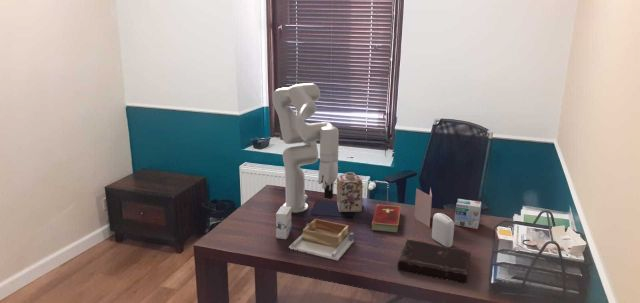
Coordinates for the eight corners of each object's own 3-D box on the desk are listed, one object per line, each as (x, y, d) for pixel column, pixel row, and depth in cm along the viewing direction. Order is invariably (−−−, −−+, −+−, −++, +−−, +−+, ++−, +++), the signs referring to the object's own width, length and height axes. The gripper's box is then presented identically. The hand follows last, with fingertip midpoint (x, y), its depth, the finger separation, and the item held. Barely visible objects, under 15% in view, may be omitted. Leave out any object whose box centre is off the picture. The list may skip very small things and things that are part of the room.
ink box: (281, 229, 203) (280, 205, 200) (292, 230, 202) (291, 206, 199) (275, 238, 195) (275, 213, 192) (287, 239, 194) (286, 214, 191)
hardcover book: (370, 230, 203) (371, 222, 202) (375, 211, 222) (376, 203, 221) (397, 233, 200) (398, 225, 199) (400, 213, 220) (401, 206, 219)
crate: (315, 228, 201) (315, 218, 200) (348, 236, 195) (348, 225, 193) (302, 240, 191) (302, 229, 190) (337, 248, 185) (337, 237, 183)
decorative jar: (359, 202, 232) (360, 169, 227) (362, 212, 221) (363, 177, 216) (336, 203, 232) (336, 169, 226) (338, 212, 220) (338, 178, 215)
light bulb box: (453, 225, 207) (455, 203, 204) (455, 219, 213) (457, 198, 210) (478, 229, 203) (480, 207, 200) (479, 223, 209) (481, 201, 206)
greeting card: (431, 227, 205) (433, 196, 201) (414, 226, 206) (416, 195, 202) (430, 216, 216) (432, 187, 211) (414, 215, 217) (416, 186, 213)
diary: (466, 286, 162) (467, 274, 161) (397, 272, 171) (398, 260, 169) (469, 260, 179) (470, 248, 177) (406, 248, 188) (407, 237, 186)
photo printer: (430, 237, 196) (432, 211, 192) (437, 235, 198) (440, 209, 194) (446, 248, 187) (448, 221, 183) (454, 246, 189) (456, 219, 185)
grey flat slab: (307, 231, 202) (307, 223, 200) (353, 241, 192) (353, 233, 191) (288, 248, 187) (288, 239, 186) (337, 260, 178) (337, 251, 177)
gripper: (328, 150, 193) (327, 190, 198) (312, 160, 180) (312, 202, 185) (344, 152, 190) (343, 193, 195) (329, 163, 177) (329, 206, 182)
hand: (328, 197), depth 190 cm, fingers closed
